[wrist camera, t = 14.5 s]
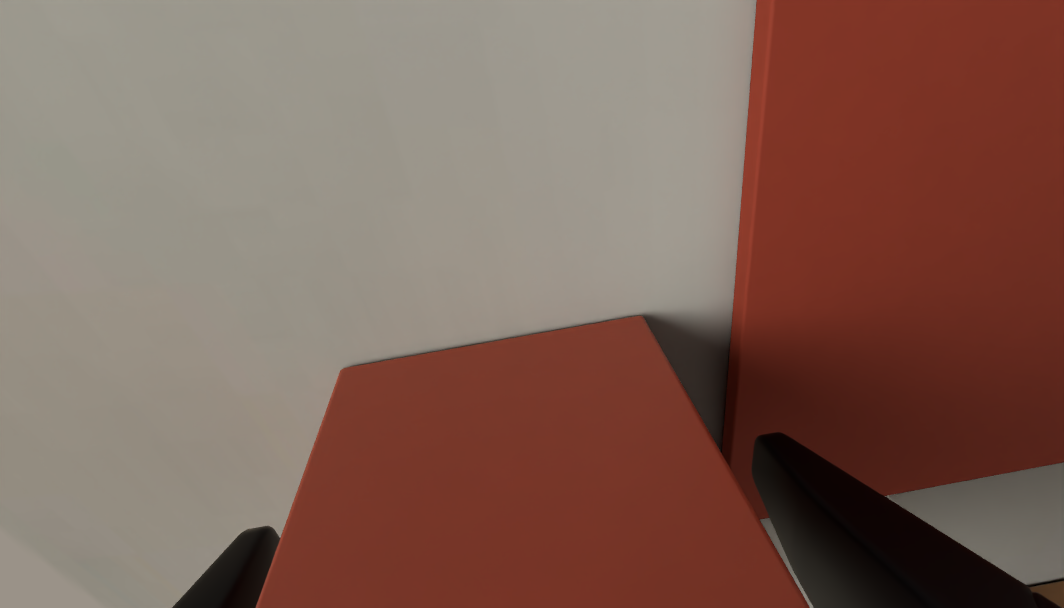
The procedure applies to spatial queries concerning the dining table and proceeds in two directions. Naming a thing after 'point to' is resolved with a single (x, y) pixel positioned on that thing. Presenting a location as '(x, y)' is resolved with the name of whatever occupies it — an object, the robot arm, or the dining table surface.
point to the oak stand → (1051, 592)
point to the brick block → (523, 486)
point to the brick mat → (902, 240)
